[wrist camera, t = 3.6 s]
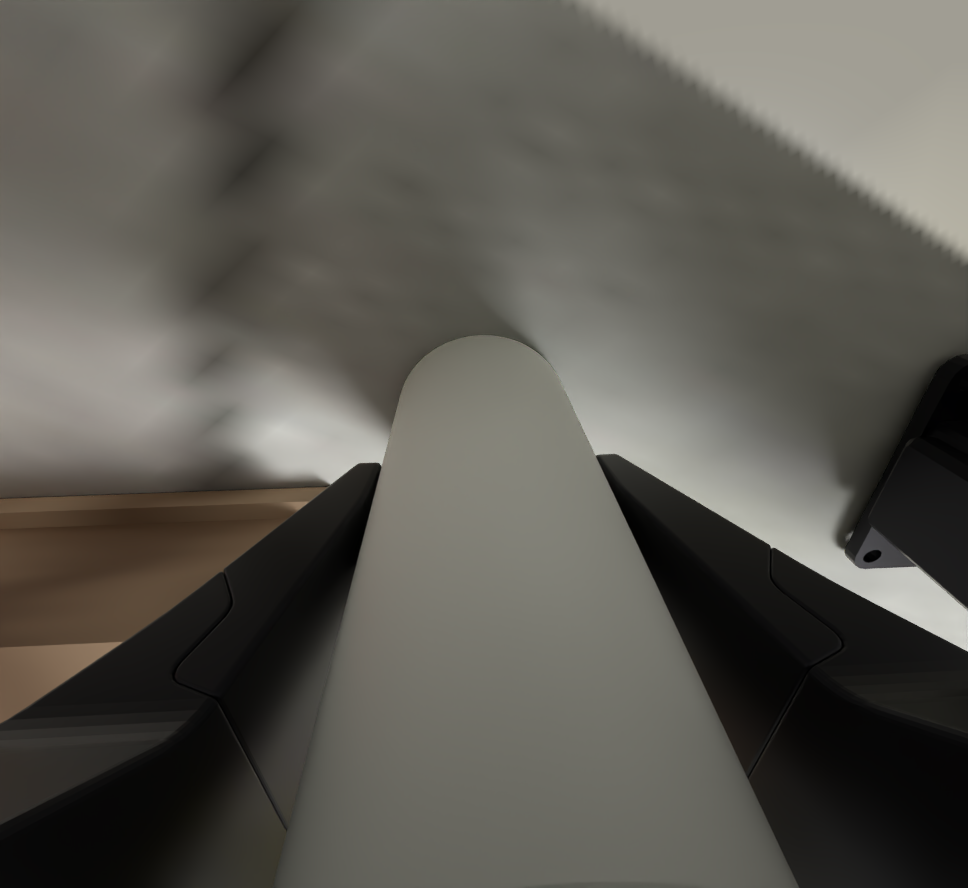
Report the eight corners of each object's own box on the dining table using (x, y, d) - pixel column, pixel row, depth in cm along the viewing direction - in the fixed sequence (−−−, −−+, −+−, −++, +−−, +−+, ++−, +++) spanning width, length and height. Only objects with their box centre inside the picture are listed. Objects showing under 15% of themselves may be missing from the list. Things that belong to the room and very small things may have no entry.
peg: (573, 332, 10) (934, 857, 2) (560, 482, 12) (732, 1027, 4) (388, 337, 10) (152, 907, 2) (406, 487, 12) (312, 1059, 4)
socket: (331, 486, 12) (278, 616, 9) (386, 734, 18) (369, 869, 15) (-148, 504, 12) (-406, 647, 8) (72, 751, 18) (-22, 894, 14)
